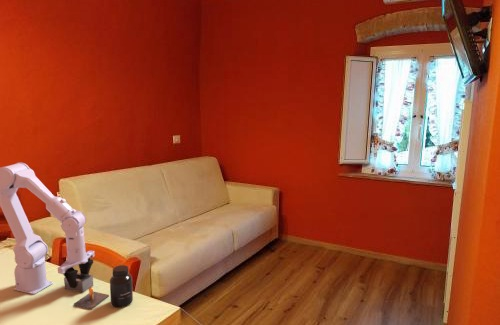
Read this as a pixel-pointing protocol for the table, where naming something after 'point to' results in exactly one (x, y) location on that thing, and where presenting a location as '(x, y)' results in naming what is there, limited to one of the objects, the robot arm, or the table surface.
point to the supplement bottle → (121, 287)
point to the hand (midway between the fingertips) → (78, 283)
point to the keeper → (91, 299)
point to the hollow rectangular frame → (80, 282)
